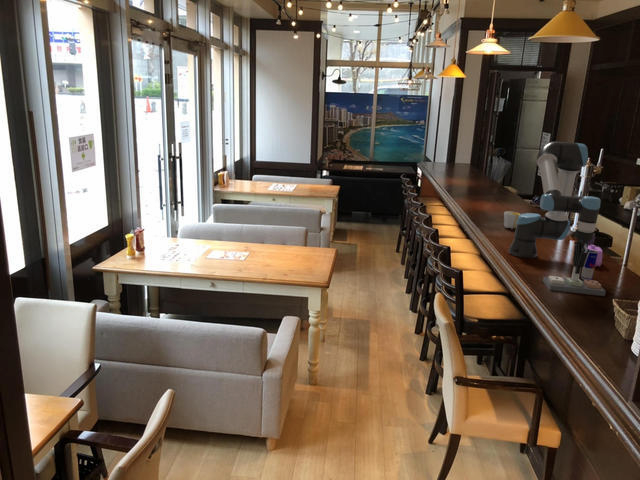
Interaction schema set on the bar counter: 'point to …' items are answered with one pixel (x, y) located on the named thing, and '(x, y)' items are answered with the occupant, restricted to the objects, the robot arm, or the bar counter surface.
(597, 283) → the tile
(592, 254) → the grey blue tall box
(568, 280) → the tile
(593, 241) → the beverage can
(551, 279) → the tile
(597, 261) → the teapot
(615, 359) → the bar counter surface
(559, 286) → the board
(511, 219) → the mug
